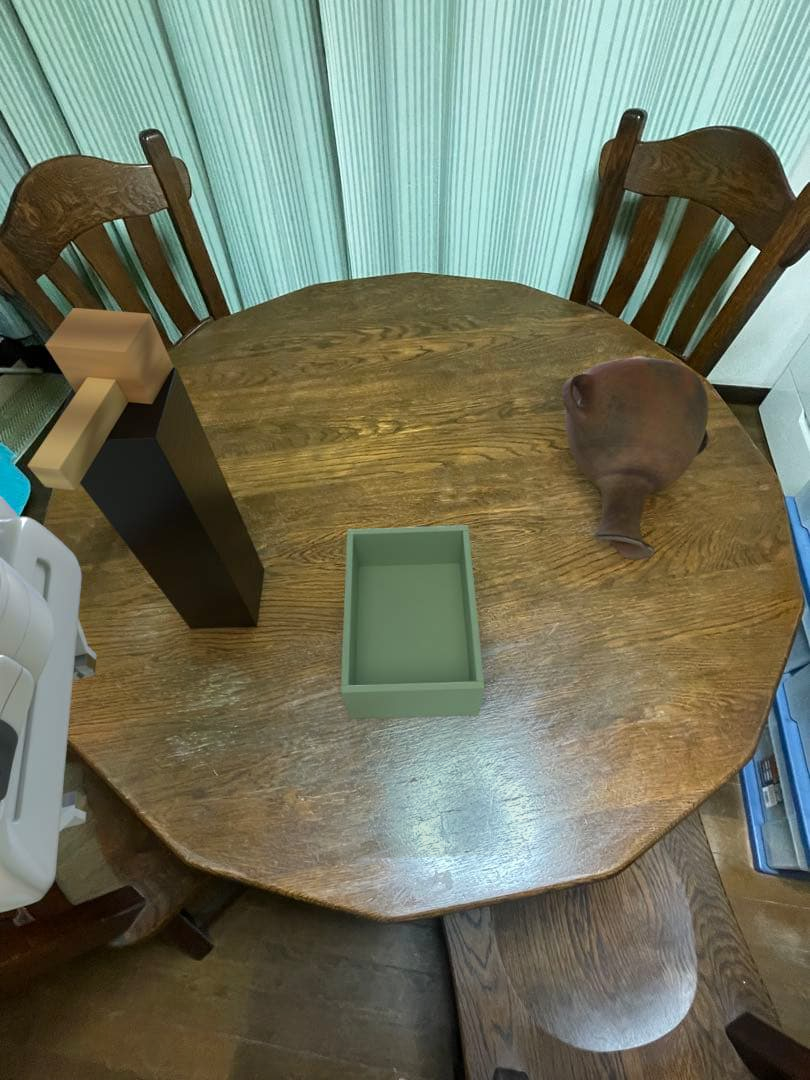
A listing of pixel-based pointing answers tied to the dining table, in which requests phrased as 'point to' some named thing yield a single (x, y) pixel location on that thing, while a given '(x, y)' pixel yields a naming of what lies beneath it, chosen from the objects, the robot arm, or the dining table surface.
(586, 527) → the dining table surface
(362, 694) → the tray
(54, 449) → the mallet
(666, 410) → the jug
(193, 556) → the stand
